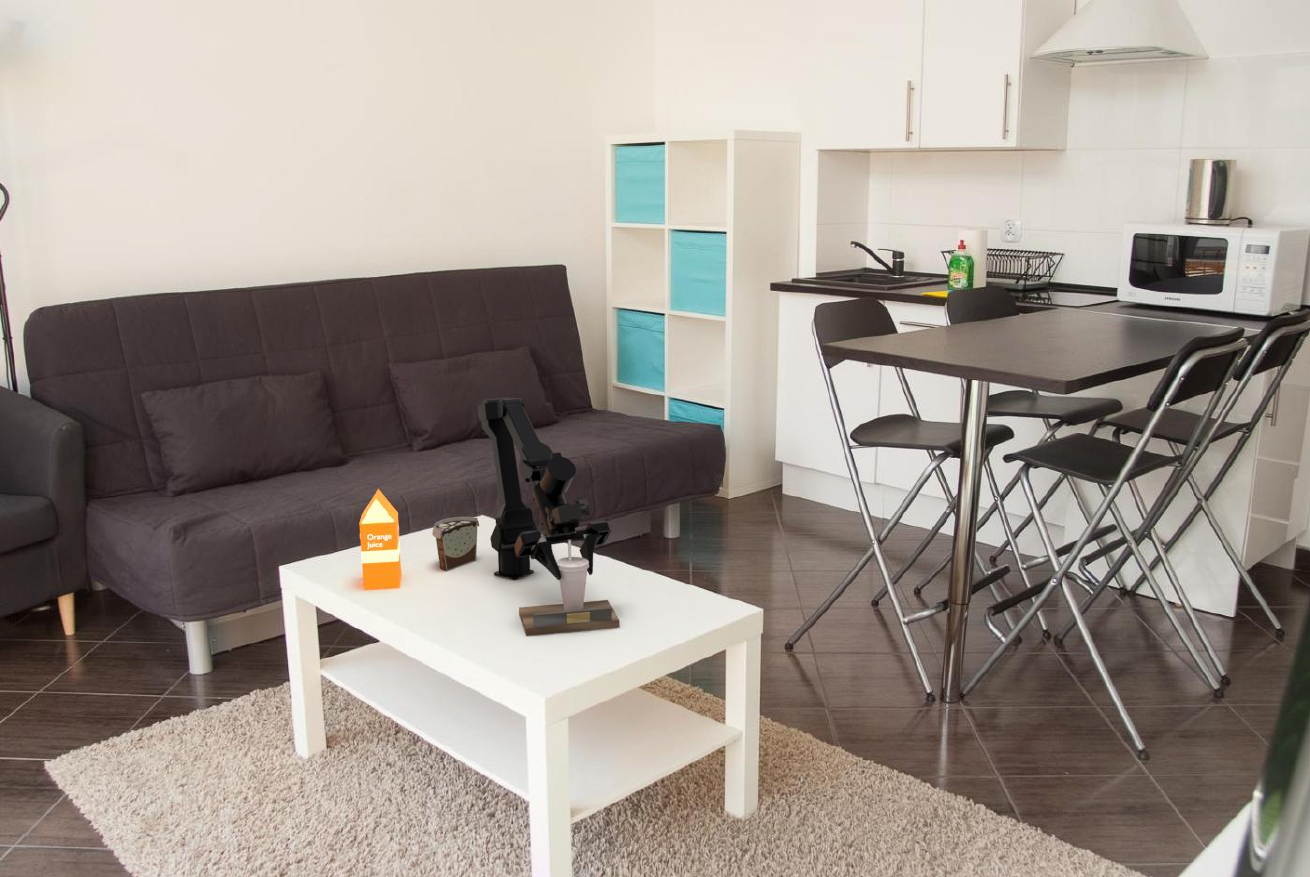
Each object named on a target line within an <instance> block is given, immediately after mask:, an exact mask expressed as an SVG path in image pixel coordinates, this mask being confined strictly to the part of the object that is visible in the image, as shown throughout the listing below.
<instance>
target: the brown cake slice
mask: <svg viewBox="0 0 1310 877" xmlns="http://www.w3.org/2000/svg"><path fill="white" fill-rule="evenodd" d="M478 527H480V523H479V520H478V517H474V516H456V517H449V518H444V519H441V520H438V521H436V522H435V523H434V526H433V527H432V528H433V529H432V533H431V534H432V536H433V537H434V538H435V542H436V548H437V557H438V562H439V568H440V570H441V571H443V572H450V571H453V570H455V569H458V568H461V567H464V566H466V565H468V564H472V563H474V562H477V547H478V545H477V544H478Z"/></svg>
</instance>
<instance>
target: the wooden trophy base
mask: <svg viewBox="0 0 1310 877" xmlns="http://www.w3.org/2000/svg"><path fill="white" fill-rule="evenodd" d="M518 615H519V619H520V621H521V625H522V627H523V630H524V633H525V636H526V637H529V636H542V635H543V636H544V635H551V634H552V635H553V634H562V633H573V632H583V631H595V630H605V629H606V630H607V629H618V627H619V628H620V618H619V617H618V615H617V613H616V610H614V608H613V606H612V605H611V603H610V601H609V599H603V600H593V601H592V600H590V601H584V604H583V609H578V610H567V611H565V610H564V606H563V603H556V604H547V605H545V604H544V605H533V606H531V605H530V606H522V607H518Z"/></svg>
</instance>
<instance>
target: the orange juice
mask: <svg viewBox="0 0 1310 877" xmlns="http://www.w3.org/2000/svg"><path fill="white" fill-rule="evenodd" d="M358 524H359V539H360V550H361V551H360V555H361V565H362V566H361V567H362V569H361V570H362V579H363V580H362V582H363V591H372V590H373V591H376V590H387V589H388V590H389V589H392V590H393V589H400V588H401V580H402V565H401V544H400V542H401V541H400V526H399V512H398V511H397V510H396V509H395V507H393V505H392V504H391V502H389V500H388V499H387V498H386V496H385V495H384V494H383V493H382V492H381V490H380V488H378V489H377V490H376V493H375V494H374V495H373V497H372V498H371V500H370V502H369V503H368V505H367V506H366V508H365V509H364V510H363V512H362V514H361V517H360V521H359V523H358Z"/></svg>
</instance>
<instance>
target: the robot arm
mask: <svg viewBox="0 0 1310 877" xmlns="http://www.w3.org/2000/svg"><path fill="white" fill-rule="evenodd" d="M477 417H478V420H479V421H480V423H481V427H482V430H483V432H485V434H486V435H487V436H488V438H490V439H491V445H492V452H493V460H494V468H495V474H496V479H497V480H496V482H497V486H498V494H499V501H500V507H499V508H498V511H497V514H496V516H495V525H494V529H493V531H492V534H491V535H490V545H491V548H492V549H493V550H495V551H496V552H497V558H498V560H497V563H498V570H497V571H495V572H493V576H496V577H501V578H506V579H510V580H514V581H515V580H519V579H521V578H524V577H526V576H528V575H531V574H533V573H534V572H535V570H534V569H531V561H530V560H536V561H537V562H538V563H540V564H541V565H542V566H543V567H544V568H545V569H547V570H548V572H550V573H551V575H552V576H553V577H555V580H557V581H560V579H561V574H560V570H559V568H558V565H557V560H556V557H555V555H554V553H553V552H554V551H553V546H552V545H557V544H564V543H568V540H571V543H573V542H577V541H579V542H580V545H581V546H580V548H579V552H580V556H581V558H585V559H587V560H588V561H589V567H588V568H587V574H588V576H592V575H593V573H594V550H595V548H596V547H597V546H598V547H600V546H602V545H605V543H606V541H607V540H608V538H609V537H610V535H611V533H612V527H611V525H610V523H609V522H608V521H606V520H597V521H590V522H588V524H587V525H586V527H585V529H580V530H576V528H578V527H579V526H580V522H579V521H583V520H584V517H587V516H589V515H590V514H591V508H590V504H589V501H588V499H587V498H584V499H578V500H577V501H575V503H573V504H572V503H571V504H570V503H569V502H568V503H567V501H566V498H565V493H567V491H568V490H569V488H570V485H571V484H572V481H573V480H574V477H575V475H576V472H577V469H576V468H577V467H576V465H575V463H573V461H572V460H570V459H569V458H567V457H566V456H565V457H564V456H562V453H561V451H558V452H554V451H553V450H552V448H551V446H549V445H547V444H545V443H543V442H541V440H540V438H539V437H538V434H537V432H536V430H535V428H534V426H533V424H532V422H531V420H530V418H529V416H528V414H527V412H526V410H525V402H524V401H523V399H522V398H518V397H517V398H516V397H515V398H513V397H511V396H508V397H498V398H487V399H486V398H485V399H482V401H481V404H479V405H478V406H477ZM515 446H516V449H517V451H518V454H519V461H518V462H517V456H516V449H515ZM519 476H520V477H519ZM520 478H522V479H523V480H524V482H525V483H528V484H530V483H535V482H536V484H535V485H534V487H533V489H532V495H531V499H532V501H535V504H536V508H537V510H538V514H539V517H540V519H539V524H540V526H543V529H544V532H545V534H541V531H540V530H539V529H538V526H537V525H536V522H535V521H534V518H533V511H532V509H531V507H528V506H527V505H526V504H525V503H524V501H523V497H522V491H521V484H520Z"/></svg>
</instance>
